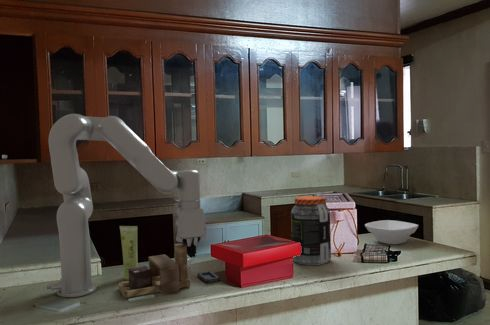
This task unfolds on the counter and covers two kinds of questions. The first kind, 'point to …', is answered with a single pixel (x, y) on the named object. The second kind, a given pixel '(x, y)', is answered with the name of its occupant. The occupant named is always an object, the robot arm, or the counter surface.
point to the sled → (183, 276)
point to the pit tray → (208, 277)
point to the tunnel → (165, 273)
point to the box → (140, 277)
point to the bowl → (391, 231)
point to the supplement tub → (311, 229)
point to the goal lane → (141, 298)
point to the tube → (129, 248)
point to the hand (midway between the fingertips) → (191, 256)
